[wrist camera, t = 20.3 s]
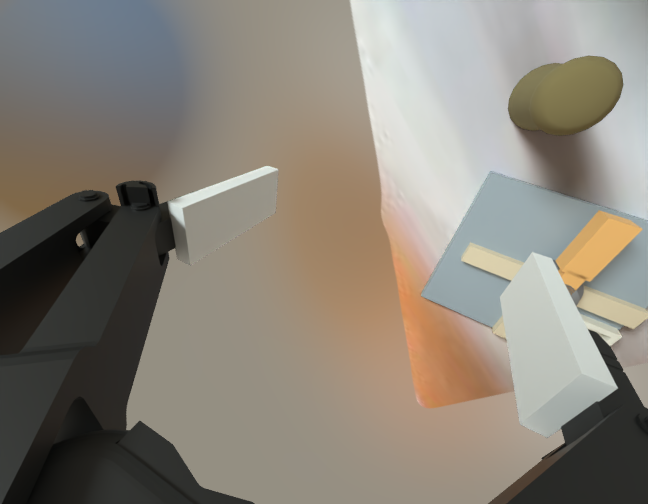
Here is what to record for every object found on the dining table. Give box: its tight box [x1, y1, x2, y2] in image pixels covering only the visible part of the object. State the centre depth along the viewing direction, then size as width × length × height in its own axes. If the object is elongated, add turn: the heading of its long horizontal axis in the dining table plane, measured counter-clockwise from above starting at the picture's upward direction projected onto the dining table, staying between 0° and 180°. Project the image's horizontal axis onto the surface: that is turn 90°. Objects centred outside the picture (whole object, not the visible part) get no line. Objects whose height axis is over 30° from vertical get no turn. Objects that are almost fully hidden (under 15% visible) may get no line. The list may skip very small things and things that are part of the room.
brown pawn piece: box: [508, 56, 623, 136], centre depth 24 cm, size 6×6×11 cm
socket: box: [580, 314, 622, 346], centre depth 36 cm, size 7×7×2 cm
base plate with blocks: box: [421, 171, 648, 339], centre depth 34 cm, size 20×22×4 cm
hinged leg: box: [556, 210, 643, 306], centre depth 30 cm, size 12×4×2 cm, turn 166°
